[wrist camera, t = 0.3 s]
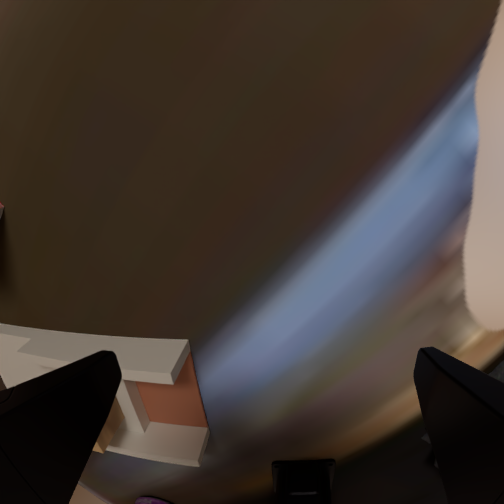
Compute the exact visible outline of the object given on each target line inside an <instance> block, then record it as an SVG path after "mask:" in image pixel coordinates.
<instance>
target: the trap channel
mask: <svg viewBox="0 0 504 504" xmlns="http://www.w3.org/2000/svg"><path fill="white" fill-rule="evenodd" d="M101 350H108V351H113V352H114V353H115V354H116V356H117V360H118V363H119V366H120V369H121V372H122V380H121V383H120V385H119V388H118V391H117V394H116V398H117V400H118V402H119V405H120V407H121V409H122V412H123V414H124V416H125V418H124V419H123V421H122V423H121V424H120V426H119V428H118V429H117V431H116V433H115V434H114V436H113V438H112V440H111V441H110V443H109V445H108V446H107V448H106V450H108V451H112V452H116V453H120V454H125V455H129V456H134V457H139V458H144V459H149V460H155V461H160V462H166V463H173V464H180V465H187V466H195V467H200V465H201V462H202V459H203V455H204V452H205V448H206V445H207V442H208V438H209V435H210V430H209V426H208V422H207V419H206V415H205V411H204V407H203V403H202V398H201V394H200V390H199V386H198V382H197V377H196V373H195V368H194V364H193V359H192V355H191V351H190V345H189V340H181V339H153V338H134V337H118V336H104V335H92V334H81V333H70V332H61V331H52V330H43V329H35V328H28V327H21V326H14V325H7V324H1V323H0V375H1V377H2V379H3V381H4V383H5V385H6V387H7V389H8V388H10V387H13V386H16V385H18V384H20V383H23V382H25V381H28V380H30V379H33V378H35V377H38V376H40V375H43V374H45V373H48V372H50V371H53V370H55V369H58V368H60V367H63V366H65V365H67V364H70V363H72V362H75V361H77V360H80V359H82V358H84V357H87V356H89V355H91V354H94V353H96V352H99V351H101Z"/></svg>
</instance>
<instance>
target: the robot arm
mask: <svg viewBox="0 0 504 504" xmlns="http://www.w3.org/2000/svg"><path fill="white" fill-rule="evenodd" d="M121 380H122V372H121V369H120V366H119V363H118V360H117V356H116V354H115V353H114V352H113V351H108V350H101V351H99V352H96V353H94V354H91V355H89V356H87V357H84V358H82V359H80V360H77V361H75V362H72V363H70V364H67V365H65V366H63V367H60V368H58V369H55V370H53V371H50V372H48V373H45V374H43V375H40V376H38V377H35V378H33V379H30V380H28V381H25V382H23V383H20V384H18V385H16V386H13V387H10V388H8V389H5V390H2V391H0V504H69V501H70V499H71V497H72V495H73V492H74V490H75V488H76V486H77V483H78V481H79V479H80V477H81V474H82V472H83V470H84V468H85V465H86V463H87V461H88V459H89V457H90V454H91V452H92V450H93V448H94V446H95V444H96V442H97V439H98V437H99V435H100V433H101V431H102V429H103V427H104V425H105V423H106V420H107V418H108V416H109V413H110V411H111V408H112V405H113V402H114V399H115V396H116V394H117V391H118V388H119V385H120V383H121ZM414 382H415V386H416V390H417V395H418V399H419V403H420V408H421V412H422V417H423V421H424V424H425V427H426V430H427V433H428V436H429V439H430V442H431V445H432V448H433V452H434V455H435V458H436V461H437V465H438V468H439V471H440V475H441V478H442V482H443V485H444V489H445V492H446V496H447V500H448V504H504V383H503V382H501V381H499V380H497V379H495V378H493V377H491V376H489V375H487V374H486V373H484V372H482V371H480V370H478V369H476V368H474V367H472V366H470V365H468V364H466V363H464V362H462V361H460V360H458V359H456V358H454V357H452V356H450V355H448V354H446V353H444V352H442V351H440V350H438V349H436V348H434V347H425V348H420V349H419V351H418V354H417V359H416V364H415V368H414ZM335 465H336V463H335V460H334V459H326V460H309V461H275V462H273V463H272V474H273V485H274V492H275V493H276V494H275V504H331V488H332V483H333V477H334V471H335Z"/></svg>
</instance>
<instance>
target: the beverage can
mask: <svg viewBox="0 0 504 504" xmlns="http://www.w3.org/2000/svg"><path fill="white" fill-rule="evenodd" d="M135 504H171V503H169V502H167V501H164V500H162V499H159V498H154V497H139V498H137V499H136V502H135Z"/></svg>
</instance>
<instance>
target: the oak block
mask: <svg viewBox="0 0 504 504" xmlns="http://www.w3.org/2000/svg"><path fill="white" fill-rule="evenodd" d="M124 418H125V416H124V414H123V412H122V409H121V407H120V405H119V402H118V400H117V398H116V396H115V399H114V402H113V405H112V408H111V411H110V413H109V416H108V418H107V420H106V423H105V425H104V427H103V429H102V431H101V433H100V435H99V437H98V439H97V442H96V444H95V446H94V448H93V451H97V452H100V453H104V452H105V450H106V448H107V446H108V445H109V443H110V441H111V440H112V438H113V436H114V434H115V433H116V431H117V429H118V428H119V426H120V424H121V423H122V421H123V419H124Z"/></svg>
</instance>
